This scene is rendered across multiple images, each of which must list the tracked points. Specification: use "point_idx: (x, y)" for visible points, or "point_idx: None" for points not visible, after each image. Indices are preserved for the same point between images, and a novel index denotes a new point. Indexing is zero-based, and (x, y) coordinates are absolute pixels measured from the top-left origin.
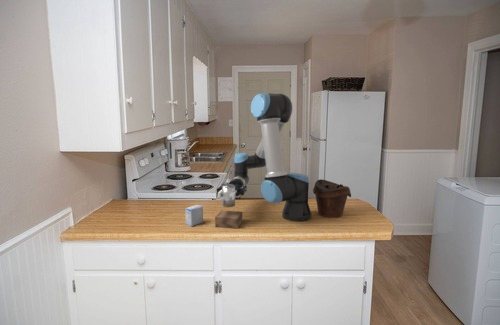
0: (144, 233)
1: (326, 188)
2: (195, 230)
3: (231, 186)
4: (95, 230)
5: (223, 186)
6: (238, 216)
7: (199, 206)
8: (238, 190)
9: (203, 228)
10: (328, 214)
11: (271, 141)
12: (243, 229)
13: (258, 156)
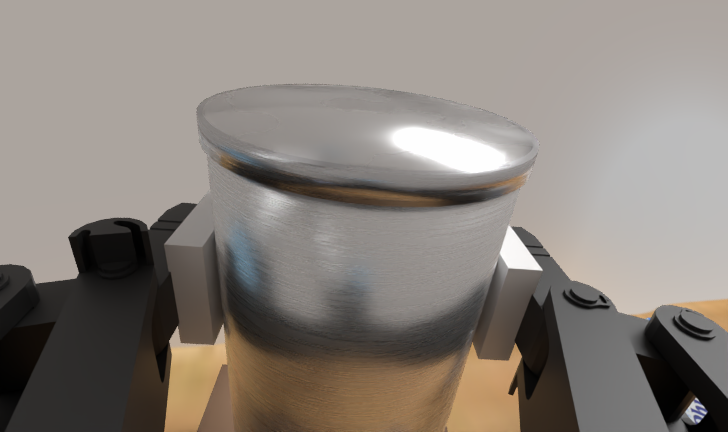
0: (696, 304)
1: None
2: (510, 358)
3: (289, 90)
4: None
5: (435, 98)
6: (205, 422)
7: (697, 417)
8: (123, 246)
9: (487, 396)
10: None
11: None
12: (176, 416)
13: None
